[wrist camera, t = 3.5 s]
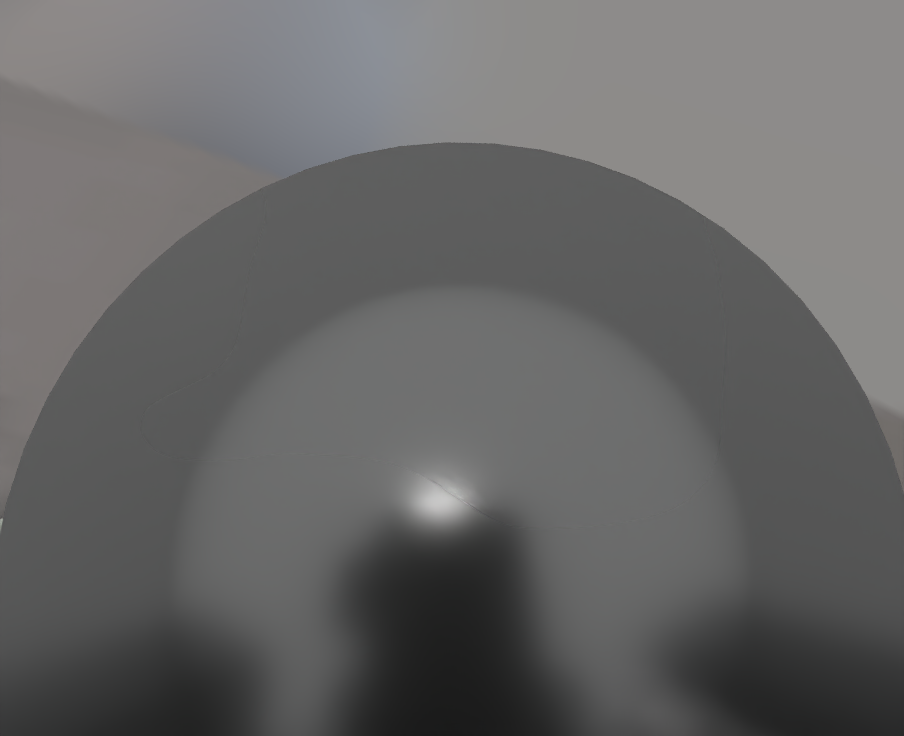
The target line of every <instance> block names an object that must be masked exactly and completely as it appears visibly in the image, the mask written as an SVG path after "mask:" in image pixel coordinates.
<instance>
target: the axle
mask: <svg viewBox="0 0 904 736" xmlns="http://www.w3.org/2000/svg"><path fill="white" fill-rule="evenodd" d="M0 736H904V494H903V490H902V487H901V483H900V480H899V477H898V473H897V470H896V467H895V463H894V460H893V457H892V453H891V450H890V448H889V446H888V444H887V441H886V439H885V437H884V435H883V432H882V430H881V428H880V425H879V423H878V421H877V419H876V416H875V414H874V412H873V409H872V407H871V405H870V403H869V400H868V398H867V396H866V394H865V392H864V391H863V389H862V388H861V386H860V384H859V382H858V381H857V380H856V377H855V376H854V374H853V372H852V371H851V369H850V367H849V366H848V364H847V362H846V361H845V359H844V357H843V355H842V354H841V352H840V350H839V349H838V347H837V345H836V344H835V343H834V341H833V340H832V339H831V338H830V337H829V335H828V334H827V332H826V331H825V330H824V328H823V327H822V326H821V325H820V324H819V322H818V321H817V319H816V318H815V317H814V315H813V314H812V313H811V312H810V310H809V309H808V308H807V307H806V305H805V304H804V303H803V301H802V300H801V299H800V298H799V297H798V296H797V295H796V294H795V293H794V292H793V291H792V290H791V289H790V288H789V287H788V286H787V285H786V284H785V283H784V282H783V281H782V280H781V278H779V276H778V275H777V274H776V273H774V271H773V270H772V269H771V268H770V267H769V266H768V265H767V264H766V263H765V262H764V261H763V260H761V259H760V258H759V257H758V256H757V255H755V254H754V253H753V252H752V251H750V250H749V249H748V248H747V247H745V246H744V245H743V244H742V243H741V242H739V241H738V240H737V239H736V238H734V237H733V236H732V235H731V234H730V233H728V232H727V231H726V230H724V229H723V228H722V227H720V226H719V225H717V224H716V223H714V222H713V221H711V220H709V219H708V218H706V217H705V216H703V215H702V214H700V213H699V212H697V211H695V210H694V209H692V208H691V207H689V206H688V205H686V204H684V203H683V202H681V201H680V200H678V199H676V198H674V197H672V196H669V195H668V194H666V193H664V192H662V191H660V190H658V189H656V188H654V187H651V186H649V185H647V184H645V183H643V182H641V181H639V180H637V179H635V178H633V177H630V176H627V175H625V174H621V173H619V172H616V171H613V170H610V169H608V168H605V167H602V166H600V165H597V164H594V163H591V162H588V161H585V160H580V159H576V158H572V157H568V156H564V155H560V154H556V153H552V152H547V151H544V150H538V149H530V148H523V147H515V146H508V145H500V144H486V143H484V144H482V143H436V144H423V145H411V146H399V147H394V148H388V149H384V150H378V151H373V152H367V153H363V154H357V155H352V156H349V157H345V158H342V159H339V160H335V161H332V162H329V163H326V164H322V165H319V166H315V167H312V168H309V169H306V170H304V171H301V172H299V173H297V174H294V175H292V176H289V177H287V178H285V179H282V180H280V181H277V182H275V183H273V184H270V185H268V186H265V187H263V188H261V189H260V190H258V191H256V192H254V193H252V194H250V195H249V196H247V197H245V198H243V199H241V200H239V201H238V202H236V203H234V204H232V205H230V206H229V207H227V208H225V209H223V210H221V211H220V212H218V213H217V214H215V215H214V216H213V217H211V218H210V219H208V220H207V221H205V222H204V223H202V224H201V225H200V226H198V227H197V228H195V229H194V230H192V231H191V232H189V233H188V234H187V235H185V236H184V237H182V238H181V239H180V240H178V241H177V242H176V243H175V244H174V245H173V246H171V247H170V248H169V249H168V250H167V251H166V252H164V253H163V254H162V255H161V256H160V257H159V258H157V259H156V260H155V261H154V262H153V263H152V264H150V265H149V266H148V267H147V268H146V269H145V270H143V271H142V272H141V273H140V275H139V276H138V277H137V278H136V279H135V280H134V281H133V282H132V283H131V284H130V285H129V286H128V287H127V288H126V289H125V291H124V292H123V293H122V294H121V295H120V296H119V297H118V298H117V299H116V300H115V301H114V302H113V303H112V304H111V305H110V306H109V308H108V309H107V310H106V311H105V312H104V314H103V315H102V316H101V318H100V319H99V320H98V322H97V323H96V324H95V326H94V327H93V328H92V330H91V331H90V332H89V334H88V335H87V336H86V338H85V339H84V340H83V342H82V343H81V344H80V346H79V347H78V348H77V349H76V351H75V352H74V354H73V356H72V357H71V359H70V361H69V362H68V364H67V366H66V367H65V369H64V371H63V372H62V374H61V376H60V377H59V379H58V381H57V383H56V384H55V386H54V388H53V389H52V391H51V393H50V394H49V396H48V398H47V400H46V402H45V404H44V406H43V408H42V411H41V413H40V415H39V417H38V419H37V422H36V424H35V426H34V428H33V430H32V433H31V435H30V437H29V439H28V441H27V443H26V446H25V448H24V451H23V454H22V457H21V460H20V463H19V466H18V469H17V472H16V475H15V478H14V481H13V484H12V487H11V490H10V493H9V496H8V499H7V503H6V507H5V512H4V517H3V522H2V527H1V531H0Z"/></svg>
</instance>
